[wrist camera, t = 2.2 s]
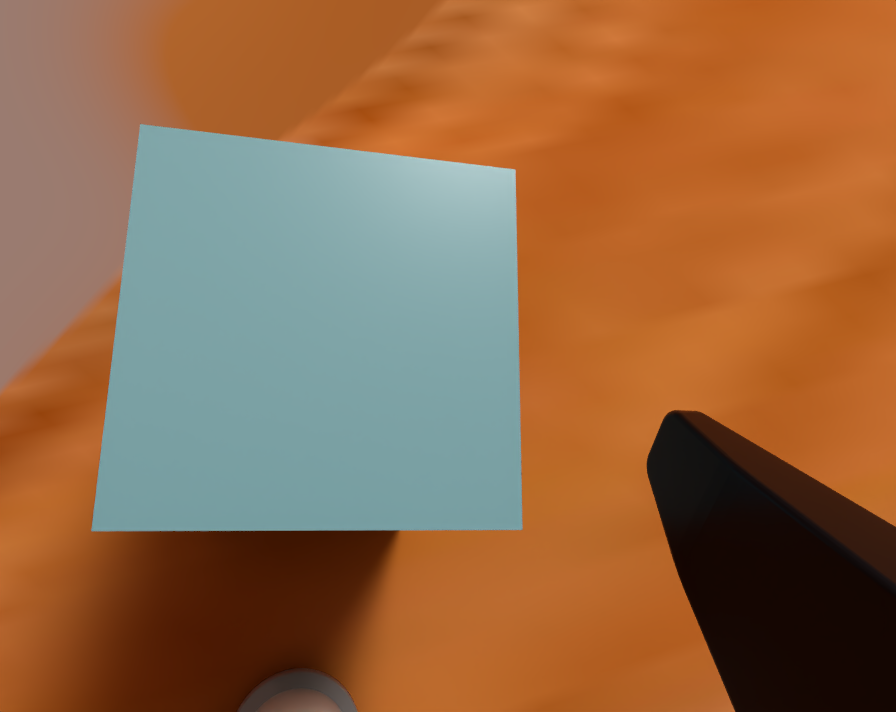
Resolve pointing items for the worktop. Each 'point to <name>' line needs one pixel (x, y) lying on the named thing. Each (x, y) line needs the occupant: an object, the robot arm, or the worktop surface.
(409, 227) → the pale teal block
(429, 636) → the worktop surface
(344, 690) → the post
